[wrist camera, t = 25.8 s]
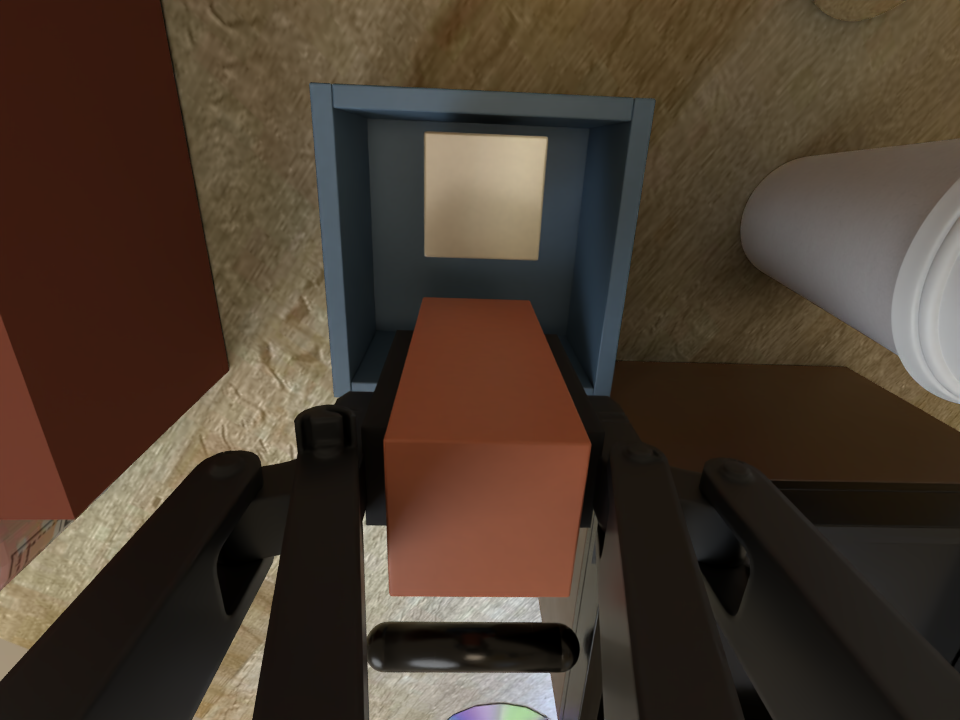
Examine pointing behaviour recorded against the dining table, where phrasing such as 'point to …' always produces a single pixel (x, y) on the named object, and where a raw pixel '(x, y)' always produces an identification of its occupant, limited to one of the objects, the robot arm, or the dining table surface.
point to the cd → (497, 713)
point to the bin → (412, 276)
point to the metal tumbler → (855, 8)
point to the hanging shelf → (94, 252)
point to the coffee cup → (871, 247)
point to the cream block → (483, 195)
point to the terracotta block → (482, 457)
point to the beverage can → (25, 543)
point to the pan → (811, 488)
